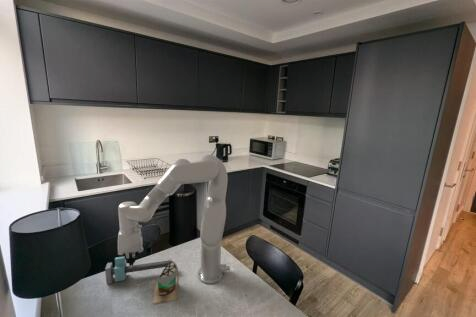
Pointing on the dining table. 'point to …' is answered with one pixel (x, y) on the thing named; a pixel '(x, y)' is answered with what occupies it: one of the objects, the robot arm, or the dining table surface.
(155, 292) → the mat
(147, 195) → the robot arm
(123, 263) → the sleeve
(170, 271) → the food container
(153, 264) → the rail
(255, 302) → the dining table surface
